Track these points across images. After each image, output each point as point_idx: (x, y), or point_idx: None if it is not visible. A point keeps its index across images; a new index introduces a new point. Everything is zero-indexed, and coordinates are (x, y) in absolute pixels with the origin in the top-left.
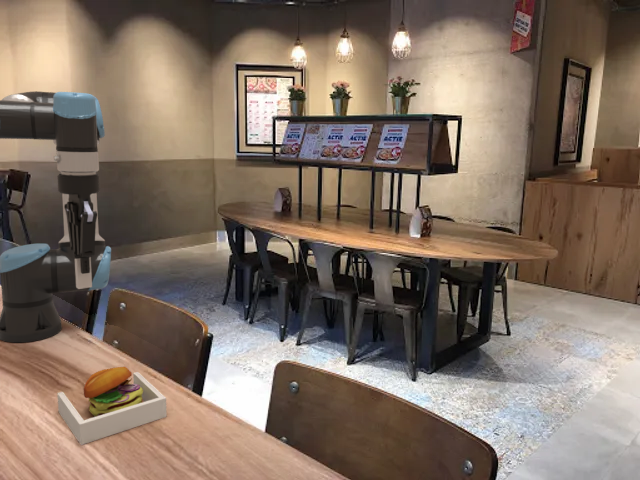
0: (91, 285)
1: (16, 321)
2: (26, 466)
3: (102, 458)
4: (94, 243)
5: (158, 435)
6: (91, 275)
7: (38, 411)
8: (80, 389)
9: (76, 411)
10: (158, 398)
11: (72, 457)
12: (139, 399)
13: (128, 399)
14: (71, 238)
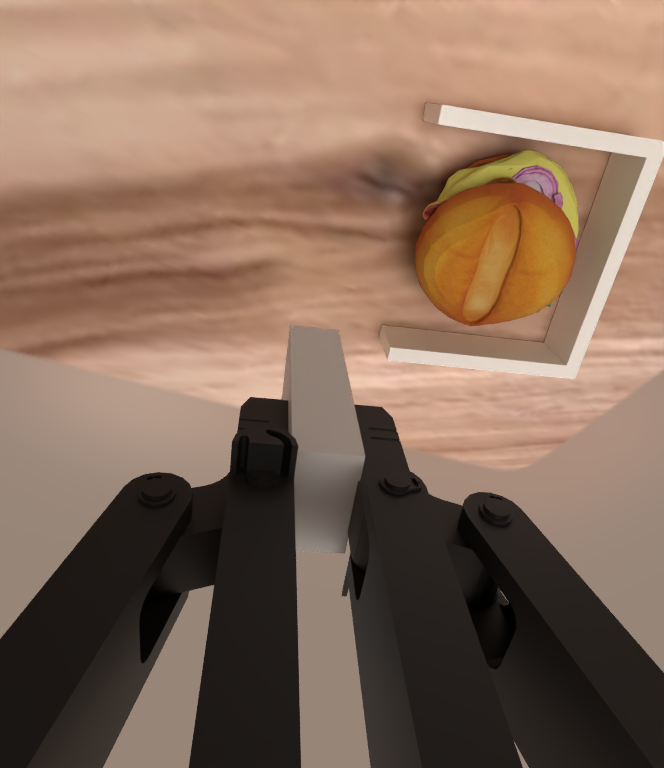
0: (337, 336)
1: None
2: (527, 446)
3: (629, 343)
4: (610, 616)
5: None
6: (345, 366)
7: None
8: (298, 244)
9: (516, 362)
10: (649, 162)
11: (573, 382)
12: (573, 192)
13: (576, 235)
14: (139, 691)
